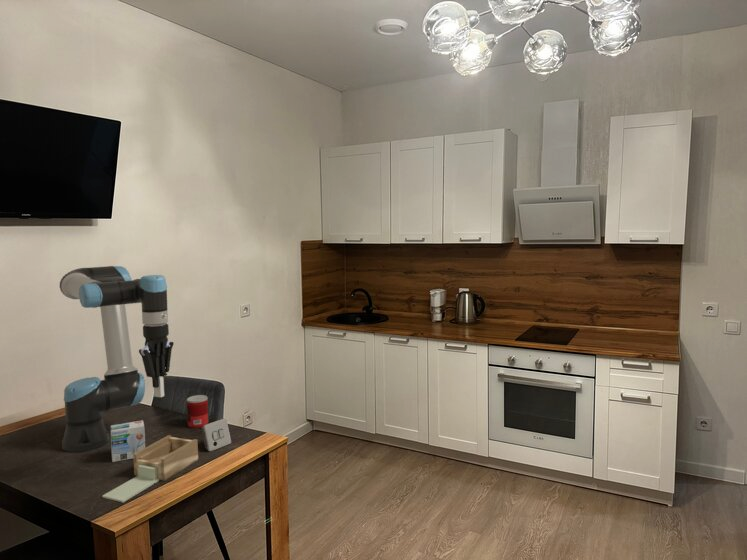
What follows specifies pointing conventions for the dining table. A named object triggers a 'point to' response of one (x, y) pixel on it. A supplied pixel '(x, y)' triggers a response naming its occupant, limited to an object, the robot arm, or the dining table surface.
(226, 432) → the electrical switch
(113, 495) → the lid
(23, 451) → the dining table surface
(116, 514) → the dining table surface
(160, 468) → the pencil box
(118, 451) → the light bulb box
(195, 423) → the canned food
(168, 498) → the dining table surface
